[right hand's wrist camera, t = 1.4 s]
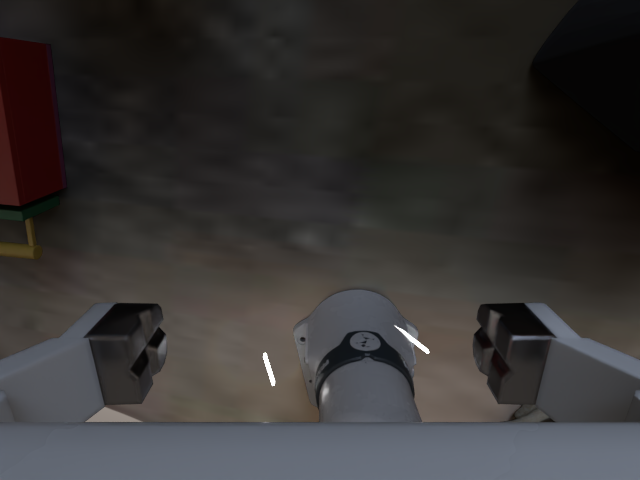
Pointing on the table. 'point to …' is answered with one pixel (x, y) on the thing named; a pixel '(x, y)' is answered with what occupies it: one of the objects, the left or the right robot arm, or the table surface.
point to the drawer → (26, 215)
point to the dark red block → (28, 124)
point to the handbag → (599, 63)
